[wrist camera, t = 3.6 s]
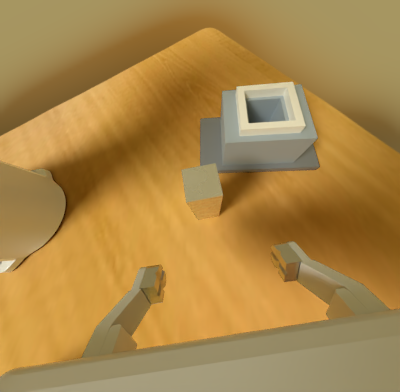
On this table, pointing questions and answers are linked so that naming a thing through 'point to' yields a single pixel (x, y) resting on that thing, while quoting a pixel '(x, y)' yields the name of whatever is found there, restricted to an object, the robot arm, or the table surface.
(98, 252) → the table surface
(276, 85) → the frame
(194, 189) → the shaft
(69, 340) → the table surface
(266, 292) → the table surface
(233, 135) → the block
